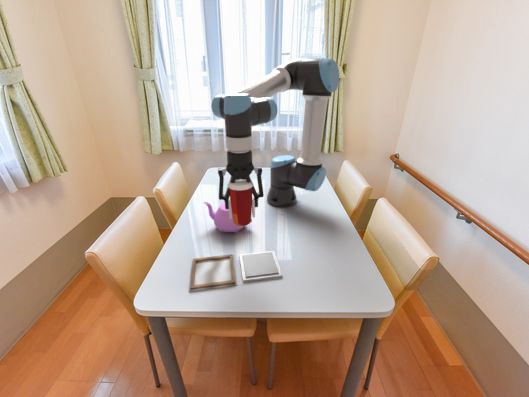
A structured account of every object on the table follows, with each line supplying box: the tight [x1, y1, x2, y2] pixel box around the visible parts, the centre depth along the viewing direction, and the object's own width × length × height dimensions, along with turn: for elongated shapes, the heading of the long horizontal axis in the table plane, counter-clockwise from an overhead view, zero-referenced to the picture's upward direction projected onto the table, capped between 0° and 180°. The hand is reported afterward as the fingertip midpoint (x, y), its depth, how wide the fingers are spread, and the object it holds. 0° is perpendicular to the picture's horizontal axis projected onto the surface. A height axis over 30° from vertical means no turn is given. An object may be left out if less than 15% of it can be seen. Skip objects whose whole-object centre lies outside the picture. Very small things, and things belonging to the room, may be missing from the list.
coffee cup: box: [227, 179, 254, 227], centre depth 87 cm, size 8×8×15 cm
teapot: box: [203, 201, 253, 234], centre depth 112 cm, size 20×14×12 cm
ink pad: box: [239, 250, 283, 283], centre depth 92 cm, size 13×13×1 cm
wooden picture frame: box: [188, 253, 238, 292], centre depth 90 cm, size 15×15×1 cm
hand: (242, 215), depth 89 cm, fingers closed on coffee cup, 7 cm apart
